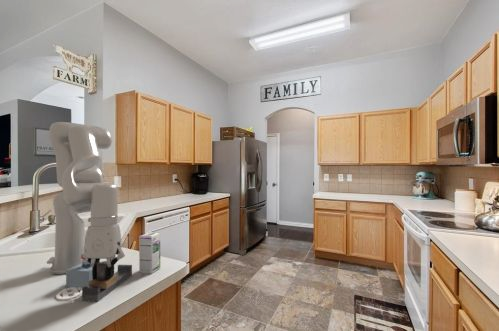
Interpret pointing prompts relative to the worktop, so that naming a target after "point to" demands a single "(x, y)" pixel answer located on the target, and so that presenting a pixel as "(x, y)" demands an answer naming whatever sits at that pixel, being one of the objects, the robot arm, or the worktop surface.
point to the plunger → (84, 262)
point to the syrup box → (149, 252)
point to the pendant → (66, 295)
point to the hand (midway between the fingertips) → (103, 277)
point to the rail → (97, 294)
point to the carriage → (102, 277)
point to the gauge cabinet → (78, 276)
